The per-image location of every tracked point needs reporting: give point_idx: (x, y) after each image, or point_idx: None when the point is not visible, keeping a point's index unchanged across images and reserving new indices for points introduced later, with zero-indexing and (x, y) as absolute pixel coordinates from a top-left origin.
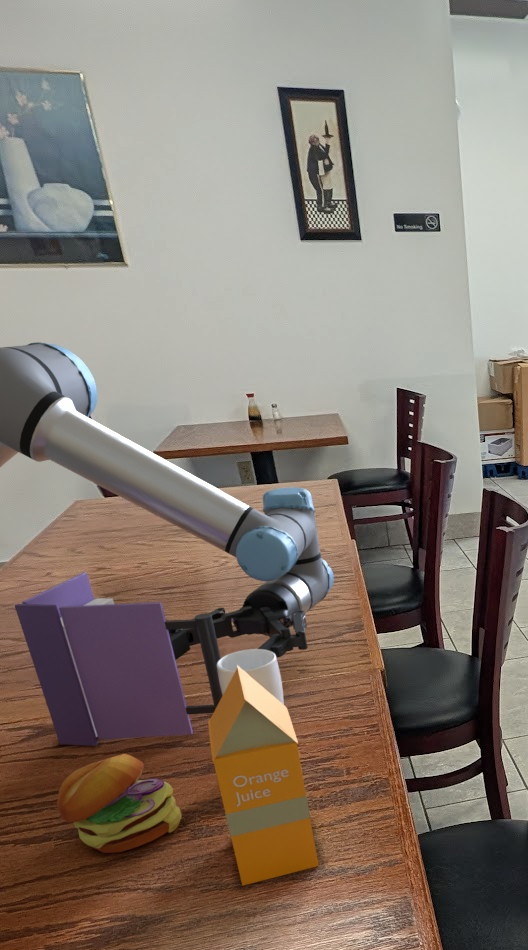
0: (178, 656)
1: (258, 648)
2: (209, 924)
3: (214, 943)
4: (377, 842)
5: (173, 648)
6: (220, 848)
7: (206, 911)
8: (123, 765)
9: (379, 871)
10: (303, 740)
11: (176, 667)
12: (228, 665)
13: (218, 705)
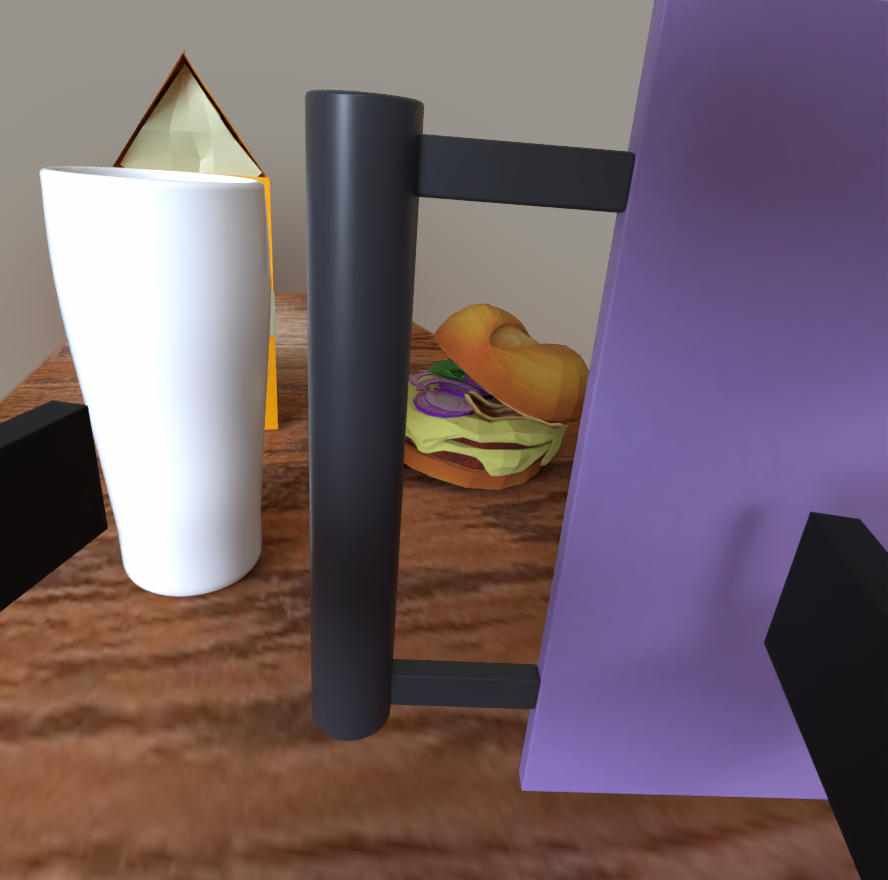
0: (843, 811)
1: (30, 429)
2: (299, 364)
3: (291, 354)
4: (43, 401)
5: (862, 689)
6: (301, 422)
7: (305, 372)
8: (460, 313)
9: (71, 376)
10: (23, 699)
11: (575, 472)
12: (232, 226)
13: (242, 142)
